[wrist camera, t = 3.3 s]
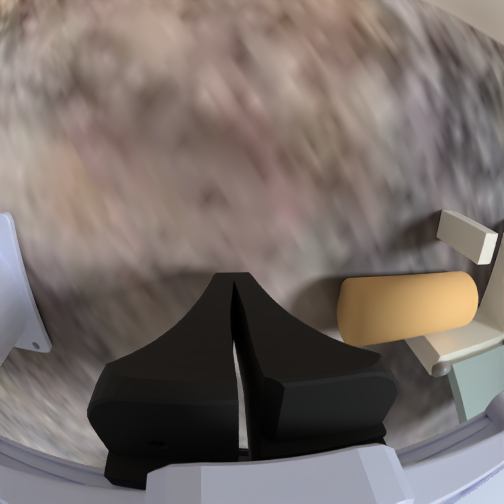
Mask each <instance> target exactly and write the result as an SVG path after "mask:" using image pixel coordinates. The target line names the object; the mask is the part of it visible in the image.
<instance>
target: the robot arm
mask: <svg viewBox="0 0 504 504" xmlns="http://www.w3.org/2000/svg"><path fill="white" fill-rule="evenodd" d="M234 343H235V348H236V354H237V359H238V364H239V370H240V375H241V380H242V385H243V392H244V403H245V414H246V426H247V437H248V449H249V461H250V462H239V461H238V460H239V401H238V389H237V378H236V372H235V364H234V356H233V344H234ZM13 347H17V348H22V349H27V350H32V351H37V352H42V353H49V352H50V350H51V349H52V345H51V342H50V340H49V337H48V335H47V332H46V330H45V328H44V325H43V322H42V320H41V317H40V314H39V312H38V309H37V306H36V303H35V300H34V297H33V294H32V291H31V288H30V285H29V282H28V278H27V275H26V272H25V268H24V264H23V261H22V257H21V253H20V248H19V244H18V240H17V235H16V230H15V225H14V220H13V217H12V216H11V214H10V213H9V212H6V211H4V212H0V367H1V365H2V363H3V362H4V360H5V359H6V357H7V356H8V354H9V353H10V351H11V350H12V348H13ZM397 393H398V382H397V380H396V378H395V377H394V375H393V373H392V371H391V370H390V368H389V366H388V365H387V363H386V362H385V360H384V359H383V357H382V356H381V355H380V354H379V353H375V352H372V351H368V350H365V349H361V348H358V347H354V346H351V345H348V344H346V343H343V342H341V341H338V340H335V339H333V338H331V337H329V336H327V335H324V334H322V333H320V332H319V331H317V330H315V329H313V328H311V327H309V326H308V325H306V324H304V323H303V322H301V321H300V320H298V319H297V318H295V317H294V316H292V315H291V314H290V313H288V312H287V311H286V310H284V309H283V308H282V307H281V306H280V305H279V304H278V303H276V302H275V301H274V300H273V299H272V298H271V297H270V296H269V295H268V294H267V293H266V291H265V290H264V289H263V288H262V287H261V286H260V285H259V284H258V282H257V281H256V280H255V279H254V277H253V276H252V275H251V274H250V273H249V272H238V273H215V274H214V275H213V278H212V280H211V282H210V284H209V285H208V287H207V289H206V290H205V292H204V293H203V294H202V296H201V297H200V299H199V300H198V301H197V303H196V304H195V305H194V306H193V307H192V309H191V310H190V311H189V312H188V313H187V314H186V315H185V316H184V317H183V318H182V319H181V320H180V321H179V322H178V323H177V324H176V325H175V326H174V327H173V328H171V329H170V330H169V331H167V332H166V333H165V334H163V335H162V336H161V337H159V338H158V339H156V340H155V341H153V342H151V343H150V344H148V345H147V346H145V347H143V348H141V349H139V350H137V351H135V352H133V353H131V354H129V355H127V356H125V357H122V358H120V359H118V360H115V361H113V362H110V363H108V364H106V366H105V368H104V370H103V372H102V373H101V375H100V377H99V379H98V381H97V384H96V386H95V389H94V391H93V394H92V397H91V400H90V403H89V406H88V409H87V417H88V420H89V422H90V424H91V426H92V427H93V429H94V430H95V432H96V433H97V435H98V436H99V438H100V439H101V441H102V442H103V443H104V445H105V446H106V448H107V449H108V450H109V452H108V457H107V462H106V466H105V469H101V468H96V467H92V466H88V465H84V464H80V463H76V462H72V461H69V460H65V459H62V458H59V457H56V456H52V455H49V454H46V453H43V452H41V451H38V450H35V449H32V448H30V447H27V446H25V445H22V444H20V443H17V442H15V441H12V440H10V439H8V438H6V437H3V436H1V435H0V504H453V503H454V502H456V501H458V500H459V499H461V498H463V497H464V496H466V495H467V494H469V493H470V492H471V491H473V490H475V489H476V488H477V487H479V486H480V485H482V484H483V483H485V482H486V481H487V480H489V479H490V478H491V477H493V476H494V475H495V474H497V473H498V472H499V471H500V470H502V469H503V468H504V391H502V392H500V393H499V394H498V395H497V396H495V397H494V398H493V400H492V401H491V402H490V403H489V405H488V406H487V407H486V409H485V411H484V412H482V413H480V414H478V415H476V416H475V417H473V418H471V419H469V420H467V421H465V422H463V423H461V424H459V425H457V426H455V427H453V428H451V429H449V430H447V431H444V432H442V433H440V434H438V435H435V436H433V437H431V438H428V439H426V440H423V441H421V442H418V443H416V444H413V445H411V446H408V447H405V448H402V449H400V450H397V451H394V449H393V448H390V447H388V446H387V445H386V443H385V441H384V438H383V437H384V436H385V435H386V429H385V427H384V425H383V423H382V421H383V419H384V418H385V416H386V415H387V413H388V411H389V410H390V408H391V406H392V404H393V403H394V401H395V398H396V396H397Z"/></svg>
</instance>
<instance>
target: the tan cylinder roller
mask: <svg viewBox="0 0 504 504" xmlns="http://www.w3.org/2000/svg"><path fill="white" fill-rule="evenodd" d="M477 307H478V292H477V288H476V285H475V283H474V281H473V279H472V278H471V277H470V276H469V275H468V274H467V273H465V272H462V271H458V272H444V273H430V274H414V275H398V276H379V277H359V278H347V279H345V280H344V281H343V283H342V285H341V290H340V295H339V300H338V305H337V321H338V327H339V331H340V334H341V337H342V339H343V341H344V342H345V343H346V344H348V345H351V346H354V347H358V346H365V345H372V344H378V343H384V342H390V341H396V340H402V339H407V338H412V337H417V336H422V335H427V334H432V333H436V332H441V331H445V330H449V329H454V328H458V327H462V326H465V325H467V324H468V323H470V322H471V320H472V319H473V318H474V316H475V313H476V311H477Z"/></svg>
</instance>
